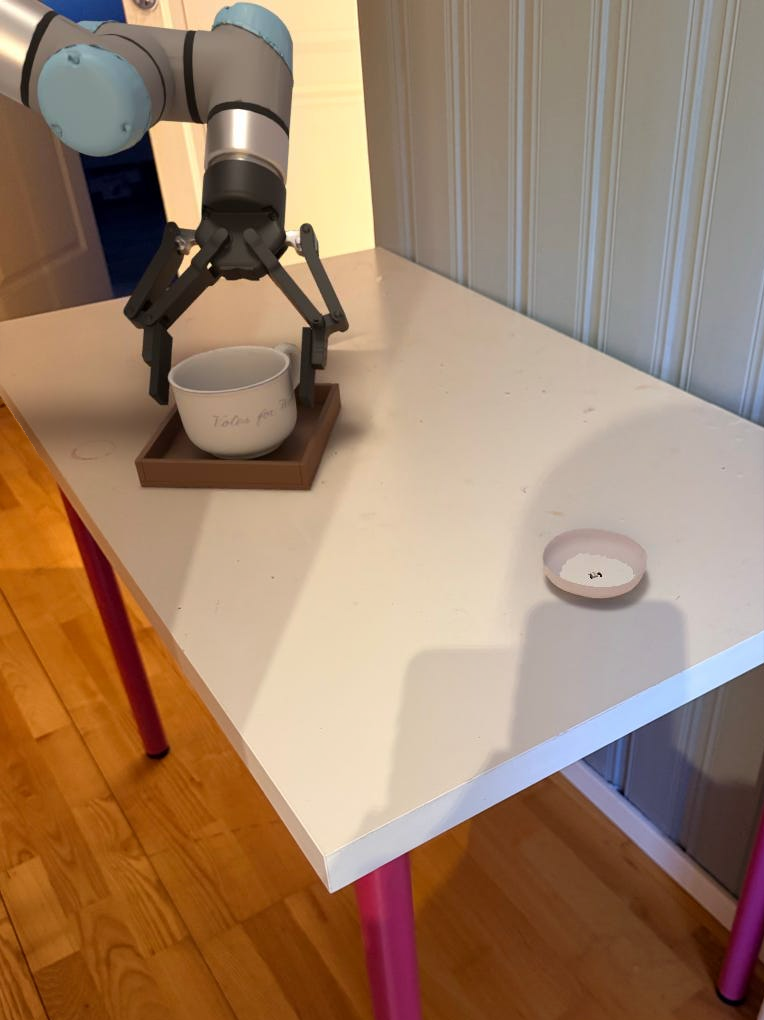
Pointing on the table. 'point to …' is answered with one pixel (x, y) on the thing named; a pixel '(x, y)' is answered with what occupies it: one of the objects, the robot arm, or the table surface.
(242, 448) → the teacup
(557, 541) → the shallow pink dish
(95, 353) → the table surface
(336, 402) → the tray
